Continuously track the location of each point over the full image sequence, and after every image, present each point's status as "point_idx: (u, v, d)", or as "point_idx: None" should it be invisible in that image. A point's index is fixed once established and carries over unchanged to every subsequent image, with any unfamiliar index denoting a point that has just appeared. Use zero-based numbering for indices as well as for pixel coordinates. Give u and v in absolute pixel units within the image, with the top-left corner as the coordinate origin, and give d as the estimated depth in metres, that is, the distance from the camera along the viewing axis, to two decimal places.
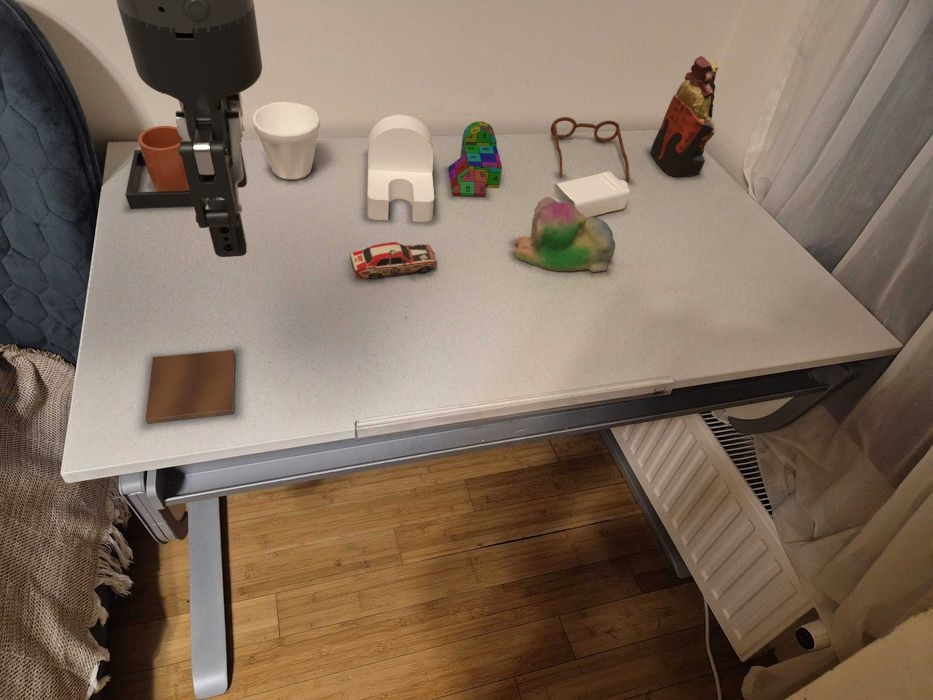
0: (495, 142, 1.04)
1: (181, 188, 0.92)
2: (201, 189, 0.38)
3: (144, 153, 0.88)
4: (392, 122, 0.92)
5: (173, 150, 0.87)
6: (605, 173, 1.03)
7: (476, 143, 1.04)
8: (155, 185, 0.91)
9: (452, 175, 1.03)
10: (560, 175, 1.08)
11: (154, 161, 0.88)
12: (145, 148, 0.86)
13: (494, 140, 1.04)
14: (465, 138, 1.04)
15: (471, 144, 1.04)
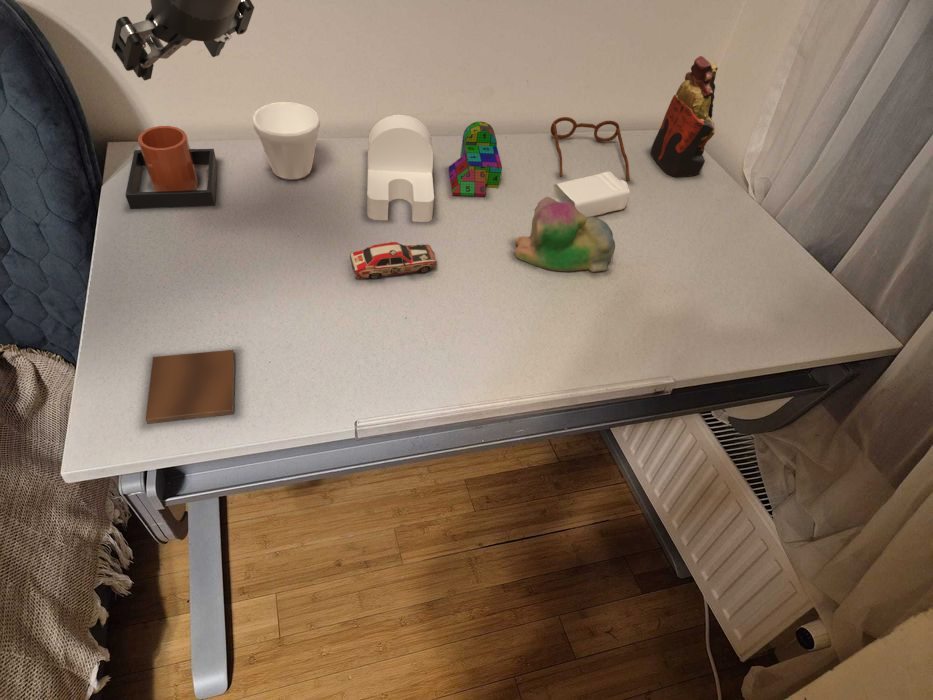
0: (495, 142, 1.04)
1: (181, 188, 0.92)
2: (118, 40, 0.60)
3: (144, 153, 0.88)
4: (392, 122, 0.92)
5: (173, 150, 0.87)
6: (605, 173, 1.03)
7: (477, 143, 1.04)
8: (155, 185, 0.91)
9: (452, 175, 1.03)
10: (560, 175, 1.08)
11: (154, 161, 0.88)
12: (145, 148, 0.86)
13: (494, 140, 1.04)
14: (465, 138, 1.04)
15: (471, 144, 1.04)
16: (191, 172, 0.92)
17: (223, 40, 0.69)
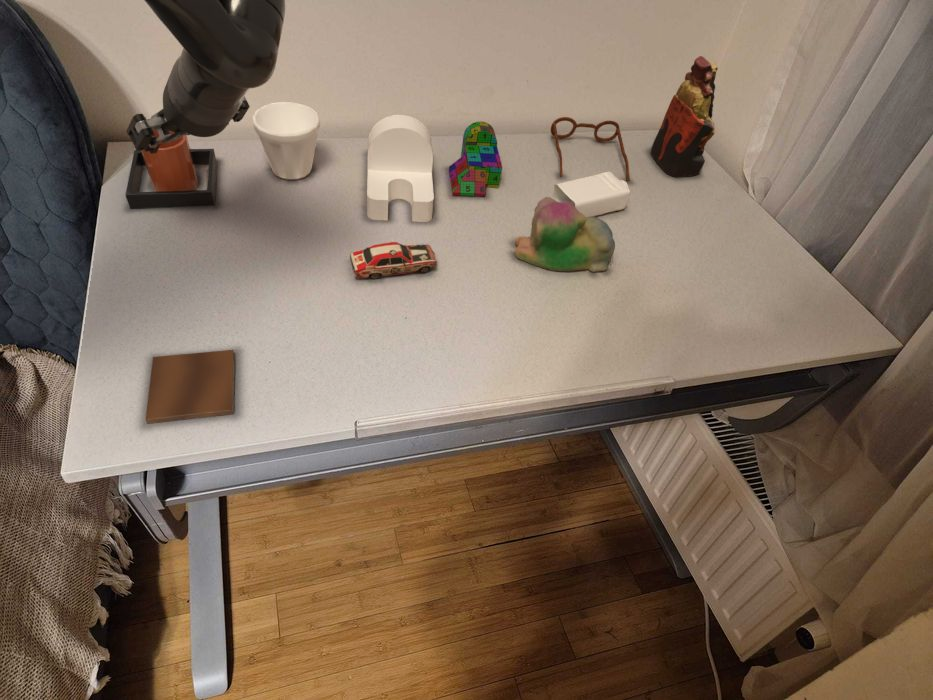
0: (495, 142, 1.04)
1: (181, 188, 0.92)
2: (132, 129, 0.73)
3: (144, 153, 0.88)
4: (391, 122, 0.92)
5: (173, 150, 0.87)
6: (605, 173, 1.03)
7: (477, 143, 1.04)
8: (155, 185, 0.91)
9: (453, 175, 1.03)
10: (560, 175, 1.08)
11: (154, 161, 0.88)
12: None
13: (494, 140, 1.04)
14: (465, 138, 1.04)
15: (471, 144, 1.04)
16: (191, 172, 0.92)
17: None
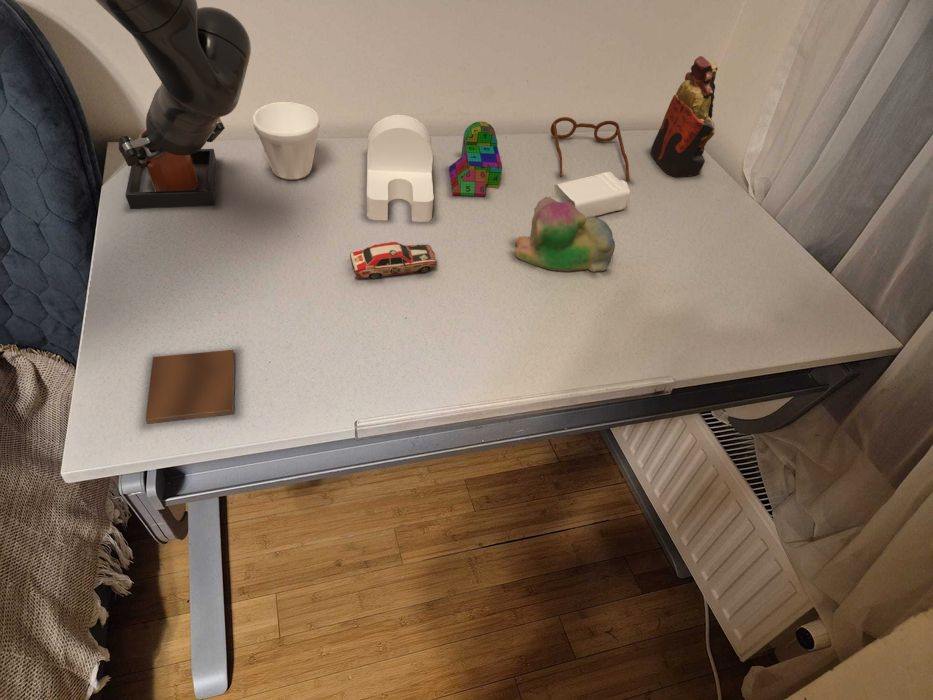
0: (496, 142, 1.04)
1: (181, 188, 0.92)
2: (121, 149, 0.82)
3: None
4: (391, 122, 0.92)
5: None
6: (605, 173, 1.03)
7: (477, 143, 1.04)
8: (155, 185, 0.91)
9: (453, 175, 1.03)
10: (560, 175, 1.08)
11: (154, 161, 0.88)
12: None
13: (495, 140, 1.04)
14: (466, 138, 1.04)
15: (472, 144, 1.04)
16: (191, 172, 0.92)
17: None
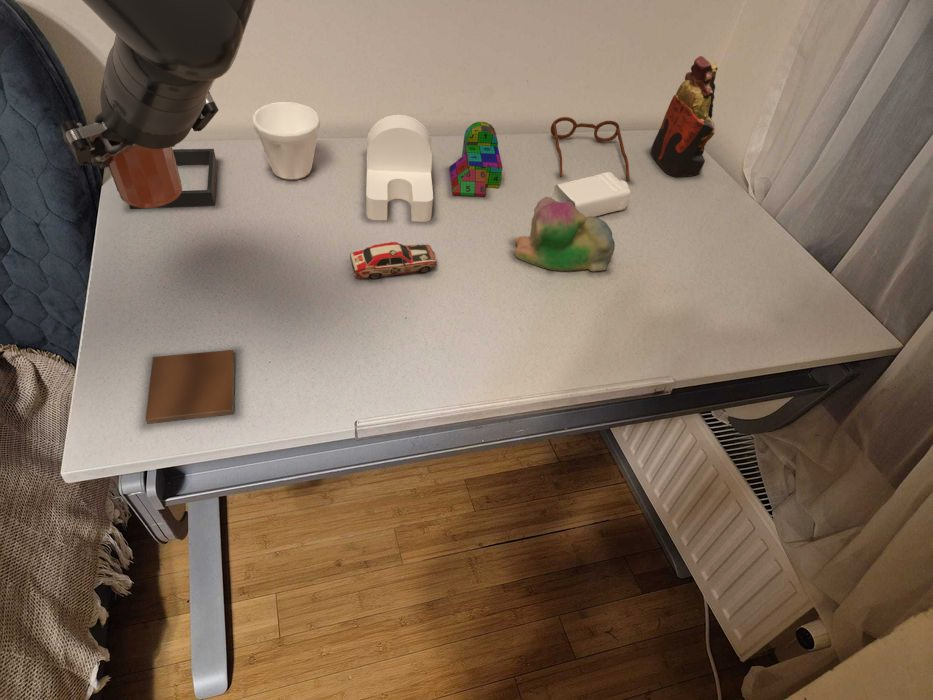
0: (496, 142, 1.04)
1: (158, 196, 0.66)
2: (66, 140, 0.56)
3: None
4: (391, 122, 0.92)
5: None
6: (605, 174, 1.03)
7: (478, 143, 1.04)
8: (121, 192, 0.65)
9: (453, 174, 1.03)
10: (560, 175, 1.08)
11: (118, 158, 0.62)
12: None
13: (495, 140, 1.04)
14: (466, 138, 1.04)
15: (472, 144, 1.04)
16: (172, 173, 0.66)
17: None
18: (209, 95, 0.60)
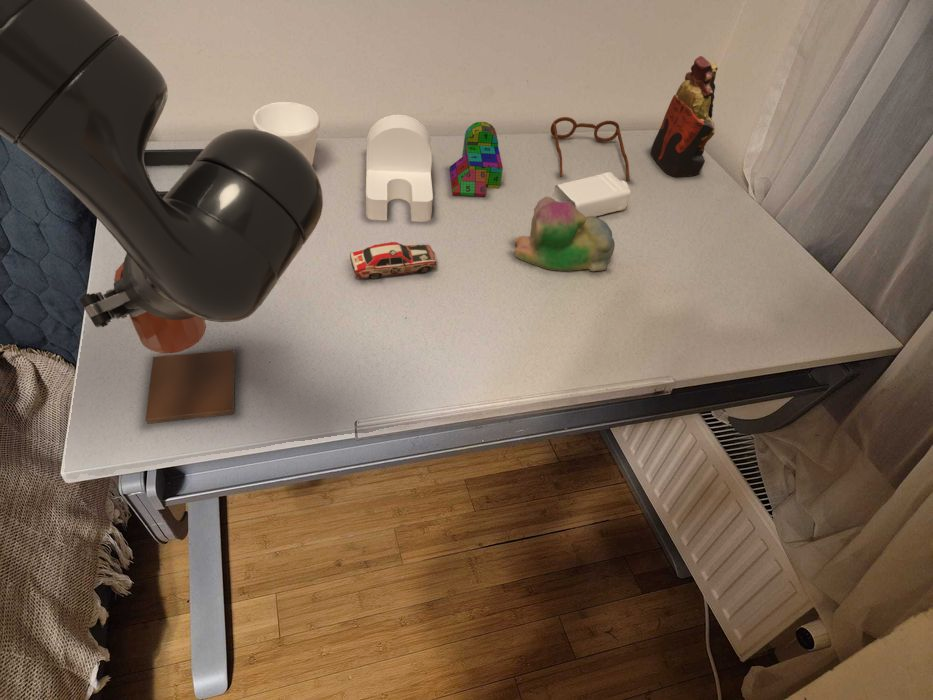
0: (497, 142, 1.04)
1: (181, 342, 0.61)
2: None
3: None
4: (390, 122, 0.92)
5: None
6: (606, 174, 1.03)
7: (478, 144, 1.04)
8: (142, 338, 0.60)
9: (453, 174, 1.03)
10: (560, 175, 1.08)
11: None
12: None
13: (496, 140, 1.04)
14: (467, 138, 1.04)
15: (472, 144, 1.04)
16: (196, 317, 0.61)
17: None
18: None
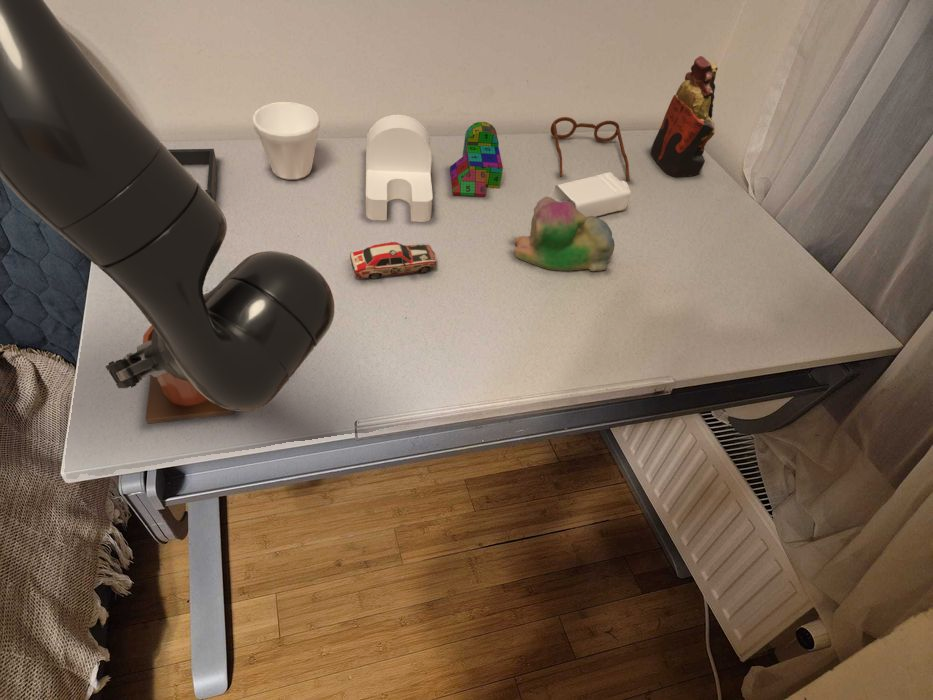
0: (497, 143, 1.04)
1: (200, 395, 0.68)
2: (112, 372, 0.57)
3: None
4: (390, 122, 0.92)
5: None
6: (606, 174, 1.03)
7: (478, 144, 1.04)
8: (165, 393, 0.67)
9: (453, 174, 1.03)
10: (560, 175, 1.08)
11: None
12: None
13: (496, 141, 1.04)
14: (467, 138, 1.04)
15: (473, 144, 1.04)
16: None
17: None
18: None
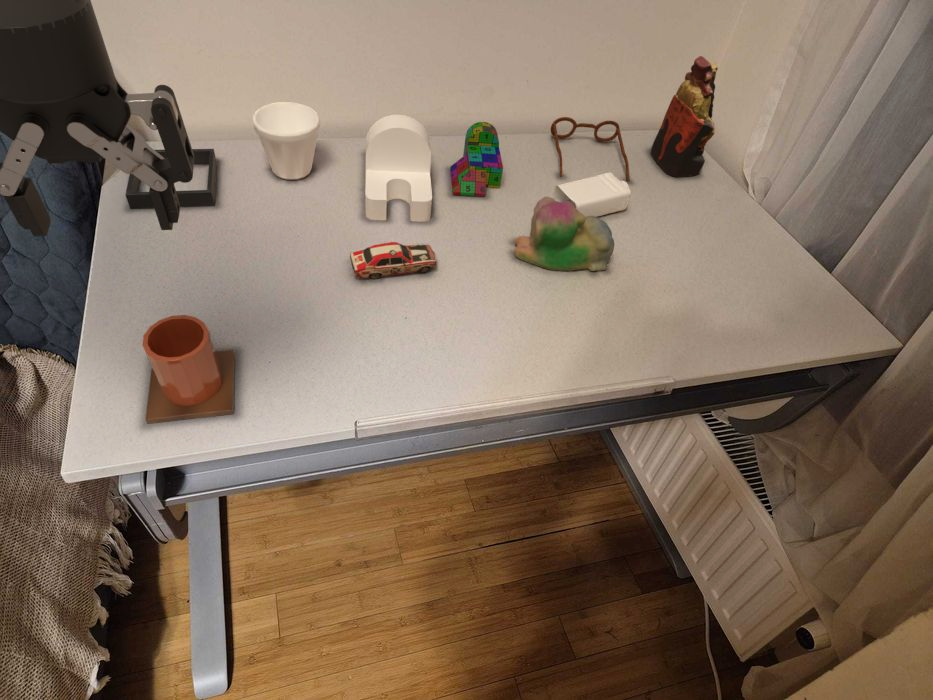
0: (497, 143, 1.04)
1: (200, 395, 0.68)
2: None
3: (151, 361, 0.63)
4: (389, 122, 0.92)
5: (191, 358, 0.63)
6: (606, 174, 1.03)
7: (479, 144, 1.04)
8: (165, 393, 0.67)
9: (453, 174, 1.03)
10: (560, 175, 1.08)
11: (165, 371, 0.64)
12: (152, 358, 0.62)
13: (496, 141, 1.04)
14: (467, 138, 1.04)
15: (473, 144, 1.04)
16: (214, 373, 0.68)
17: (151, 185, 0.43)
18: (164, 92, 0.40)
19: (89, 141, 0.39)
